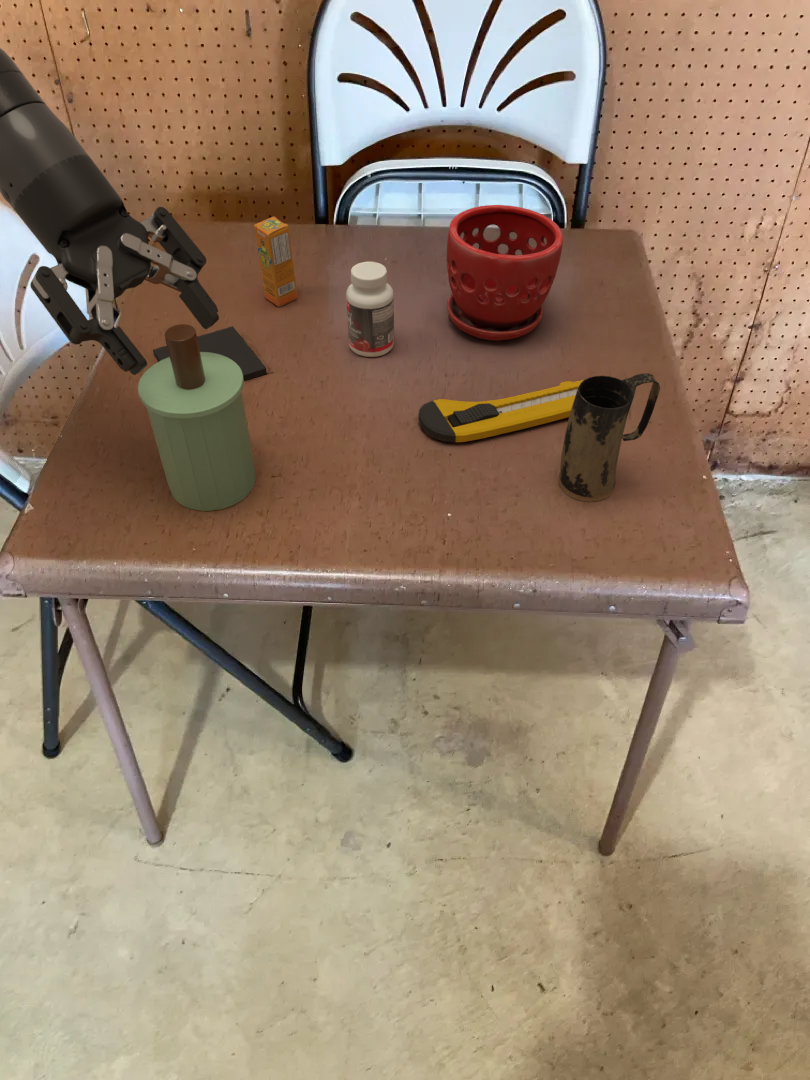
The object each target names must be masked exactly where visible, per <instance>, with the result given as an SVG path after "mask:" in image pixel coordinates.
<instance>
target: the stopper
mask: <svg viewBox="0 0 810 1080" xmlns="http://www.w3.org/2000/svg"><path fill="white" fill-rule="evenodd" d="M197 337H198V336H197V330H196V329H195V327H193V326H192V325H190V324H185V323H180V324H175V325H172V326H170V327H168V328H167V329H166V330H165V332H164V339H165V344H166V346H167V348H168V352H169V356H170V357H168V358H166V359H163V360H161V361H159V362H158V361H157V362H156V363H154V364H152V365H151V366H150V367H149V368H147V369H146V370H145V372H143V374H142V375H141V377H140V379H139V381H138V384H137V391H138V396H139V399H140V401H141V403H142V404H143V406H144V407H145V408H146V409H147V408H148V409H149V410H151V411H152V412H154V413H156V414H159V415H162V416H165V417H170V418H181V419H185V418H196V417H202V416H206V415H209V414H212V413H215V412H217V411H220V410H222V409H224V408H225V407H227V406H228V405H230V404H231V403H232V402H234V401H235V400H236V399H237V397H238V396H239V395H240V393H241V391H242V392H243V389H244V384H245V381H244V379H243V373H242V371H241V369H240V367H239V366H238V365H237V364H236V363H235V362H234V361H233V360H231V359H229V358H227V357H225V356H223V355H219V354H215V353H209V352H200V350H199V345H198V340H197Z"/></svg>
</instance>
